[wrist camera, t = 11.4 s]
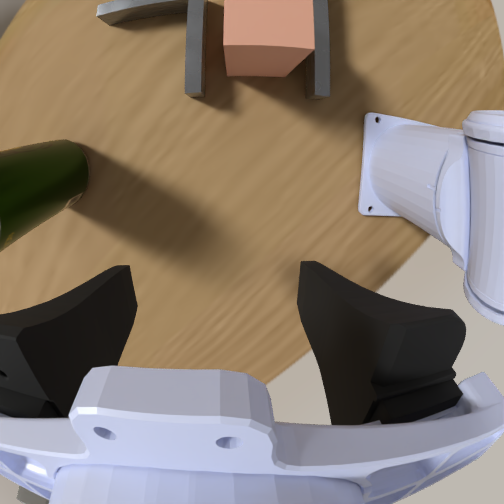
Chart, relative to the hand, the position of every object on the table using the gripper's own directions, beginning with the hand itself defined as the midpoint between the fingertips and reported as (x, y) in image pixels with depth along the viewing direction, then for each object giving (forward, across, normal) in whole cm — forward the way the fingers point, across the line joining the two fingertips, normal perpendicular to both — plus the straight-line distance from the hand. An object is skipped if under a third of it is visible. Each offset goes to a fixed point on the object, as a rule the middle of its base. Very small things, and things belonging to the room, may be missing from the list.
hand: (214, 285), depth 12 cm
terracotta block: (+10, -2, -12) cm, 16 cm away
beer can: (+11, +12, -4) cm, 17 cm away
